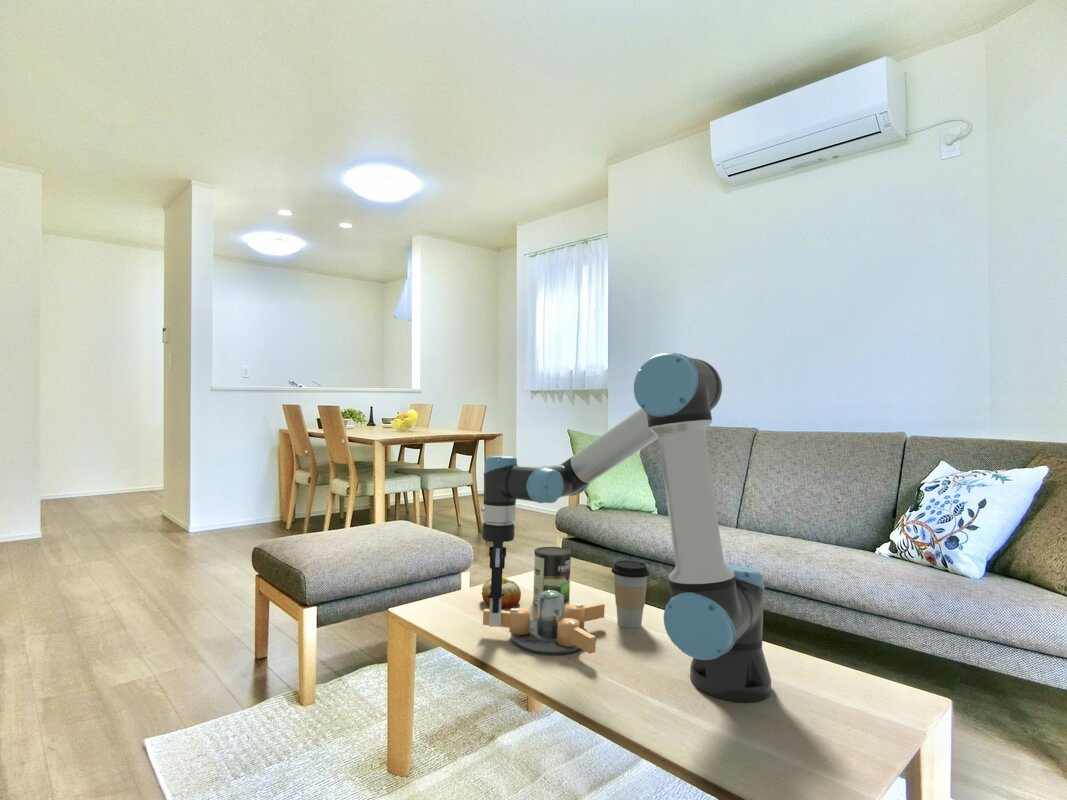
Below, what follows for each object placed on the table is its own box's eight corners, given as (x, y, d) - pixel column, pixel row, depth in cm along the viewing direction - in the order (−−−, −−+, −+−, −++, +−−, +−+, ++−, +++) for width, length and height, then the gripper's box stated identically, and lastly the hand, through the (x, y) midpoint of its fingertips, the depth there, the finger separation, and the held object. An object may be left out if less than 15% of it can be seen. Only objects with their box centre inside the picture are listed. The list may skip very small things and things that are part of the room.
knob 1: (531, 627, 132) (532, 607, 133) (527, 635, 128) (528, 614, 128) (486, 623, 134) (487, 603, 135) (480, 630, 130) (481, 609, 130)
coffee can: (576, 600, 159) (577, 550, 159) (557, 610, 150) (559, 557, 150) (545, 593, 164) (546, 544, 165) (525, 602, 156) (527, 551, 156)
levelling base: (599, 634, 135) (601, 587, 135) (569, 662, 119) (571, 609, 119) (532, 619, 143) (534, 575, 143) (496, 644, 127) (497, 594, 127)
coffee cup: (656, 626, 140) (657, 566, 141) (628, 634, 135) (630, 571, 136) (629, 615, 148) (630, 557, 149) (602, 621, 143) (603, 562, 143)
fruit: (471, 603, 152) (477, 573, 155) (494, 605, 161) (499, 576, 163) (504, 611, 146) (510, 579, 148) (526, 613, 154) (531, 582, 157)
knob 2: (572, 631, 131) (572, 610, 131) (560, 624, 135) (560, 604, 136) (608, 622, 137) (608, 602, 137) (595, 616, 141) (596, 597, 141)
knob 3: (552, 640, 126) (553, 618, 126) (570, 636, 128) (570, 614, 128) (583, 659, 116) (583, 635, 117) (601, 654, 119) (601, 631, 119)
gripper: (483, 517, 137) (479, 616, 136) (481, 526, 125) (477, 635, 123) (514, 518, 138) (510, 616, 136) (515, 527, 125) (511, 636, 124)
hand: (494, 625), depth 130 cm, fingers closed
